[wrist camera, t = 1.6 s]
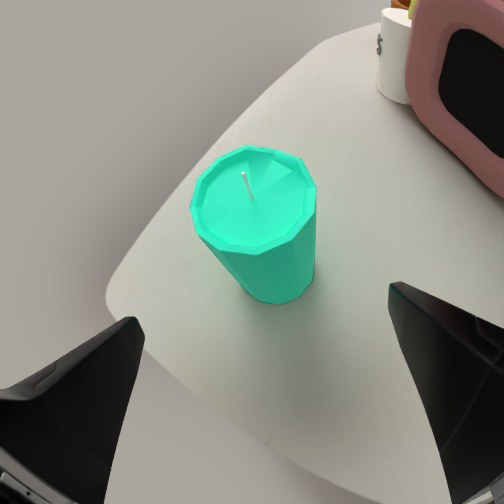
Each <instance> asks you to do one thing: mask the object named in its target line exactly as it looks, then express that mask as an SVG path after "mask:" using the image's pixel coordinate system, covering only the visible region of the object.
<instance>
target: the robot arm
mask: <svg viewBox="0 0 504 504" xmlns="http://www.w3.org/2000/svg"><path fill="white" fill-rule="evenodd" d="M388 310H389V313H390V316H391V319H392V322H393V326H394V329H395V332H396V335H397V339H398V342H399V345H400V348H401V350H402V353H403V355H404V357H405V360H406V362H407V365H408V367H409V369H410V372H411V374H412V377H413V379H414V382H415V384H416V387H417V390H418V392H419V395H420V398H421V400H422V403H423V406H424V408H425V411H426V414H427V417H428V420H429V423H430V426H431V429H432V432H433V435H434V438H435V441H436V444H437V447H438V451H439V453H440V454H439V455H440V458H441V461H442V465H443V469H444V472H445V476H446V480H447V484H448V488H449V492H450V497H451V501H452V504H466V503H468V502H470V501H472V500H474V499H476V498H478V497H480V496H481V495H483V494H485V493H487V492H489V491H490V490H491V493H492V497H493V500H492V501H491V502H489V503H488V504H504V329H503V328H501V327H499V326H496V325H494V324H492V323H490V322H488V321H485V320H483V319H481V318H479V317H476V316H475V315H473V314H471V313H469V312H467V311H465V310H462V309H460V308H458V307H456V306H454V305H452V304H450V303H448V302H445V301H443V300H441V299H439V298H437V297H435V296H432V295H430V294H428V293H426V292H424V291H421V290H419V289H417V288H415V287H413V286H410V285H408V284H406V283H404V282H395V283H391V284H390V285H389V295H388ZM144 341H145V335H144V332H143V330H142V328H141V326H140V324H139V322H138V320H137V318H136V317H134V316H132V317H125V318H123V319H121V320H120V321H118V322H116V323H115V324H114V325H112V326H110V327H108V328H107V329H105V330H104V331H102V332H100V333H99V334H97V335H96V336H94V337H93V338H91V339H89V340H88V341H86V342H84V343H83V344H81V345H80V346H78V347H77V348H75V349H73V350H72V351H70V352H69V353H67V354H65V355H64V356H62V357H61V358H59V359H58V360H56V361H54V362H53V363H52V364H50V365H48V366H47V367H45V368H43V369H42V370H40V371H38V372H36V373H35V374H33V375H31V376H29V377H28V378H26V379H24V380H22V381H20V382H19V383H17V384H15V385H13V386H11V387H9V388H6V389H1V390H0V504H104V500H105V495H106V490H107V485H108V480H109V476H110V472H111V467H112V462H113V458H114V454H115V450H116V446H117V442H118V438H119V435H120V431H121V427H122V424H123V420H124V417H125V413H126V410H127V406H128V403H129V399H130V396H131V393H132V389H133V386H134V383H135V380H136V376H137V373H138V369H139V364H140V359H141V355H142V350H143V346H144Z"/></svg>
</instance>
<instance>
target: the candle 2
mask: <svg viewBox="0 0 504 504" xmlns="http://www.w3.org/2000/svg"><path fill="white" fill-rule="evenodd" d="M416 1H417V0H411V3H410V6H409V10H404V9H398V8H386V9H384V10H382V16H381V17H382V19H381V33H380V34H378V48H377V54H378V55H379V57H378V67H377V76H376V87H377V89H378V91H379V92H380V93H381V94H382V95H384V96H385V97H387V98H388V99H390V100H392V101H395V102H397V103H401V104H405V105H410V102H409V98H408V95H407V92H406V89H405V65H406V59H407V53H408V46H409V39H410V32H411V24H412V15H413V10H414V7H415V4H416Z"/></svg>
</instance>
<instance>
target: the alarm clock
mask: <svg viewBox="0 0 504 504" xmlns="http://www.w3.org/2000/svg"><path fill="white" fill-rule="evenodd" d="M405 89H406V92H407V95H408V98H409V102H410V105H411V106H412V108H413V110H414V111H415V113H416V115H417V116H418V118H419V120H420V121H421V122H422V123H423V124H424V126H425V127H426V128H427V129H428V130H429V131H430V132H431V133H432V134H433V135H434V136H435V137H436V138H437V139H438V140H440V141H441V142H442V143H443V144H444V145H445V146H446V147H447V148H449V149H450V150H451V151H452V152H453V153H454V154H455V155H456V156H457V157H458V158H459V159H460V160H461V161H462V162H463V163H464V164H465V165H466V166H467V167H468V168H469V169H470V170H471V171H472V172H473V173H474V174H475V175H476V176H477V177H478V178H479V179H480V180H481V181H482V182H483V183H484V184H485V185H486V186H487V187H488V188H490V189H491V190H492V191H493V192H494V193H495V194H497V195H498V196H500V197H502V198H504V0H417V1H416V4H415V7H414V10H413V15H412V24H411V32H410V39H409V46H408V53H407V59H406V65H405Z"/></svg>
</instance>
